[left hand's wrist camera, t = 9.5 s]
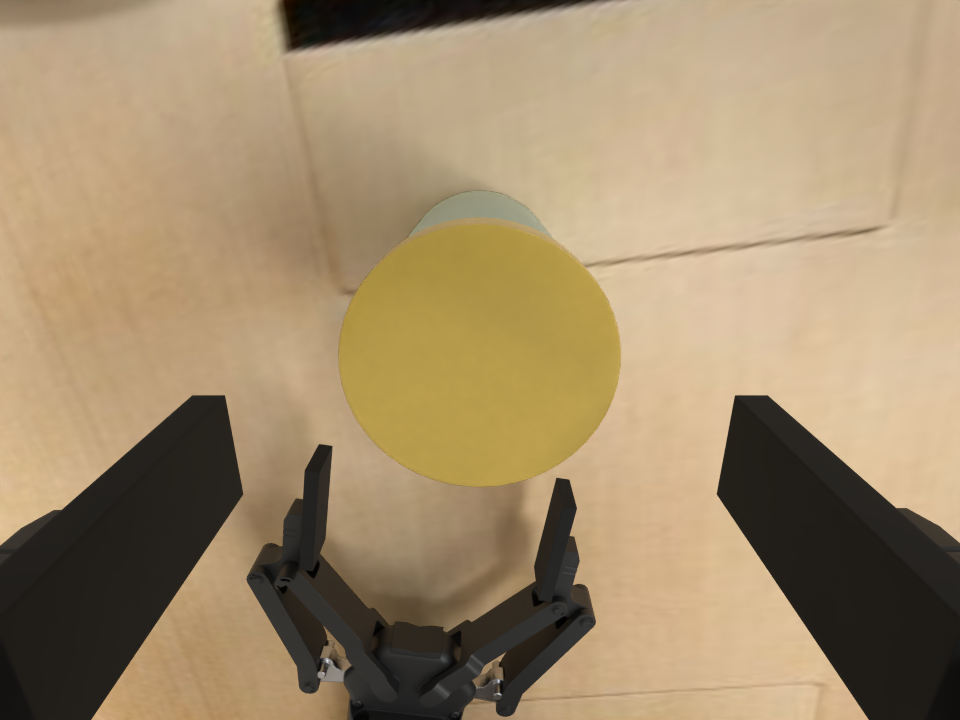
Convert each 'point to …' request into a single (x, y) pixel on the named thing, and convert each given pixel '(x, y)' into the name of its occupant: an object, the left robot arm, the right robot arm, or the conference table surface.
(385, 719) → the right robot arm
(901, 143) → the conference table surface
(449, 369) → the lid
